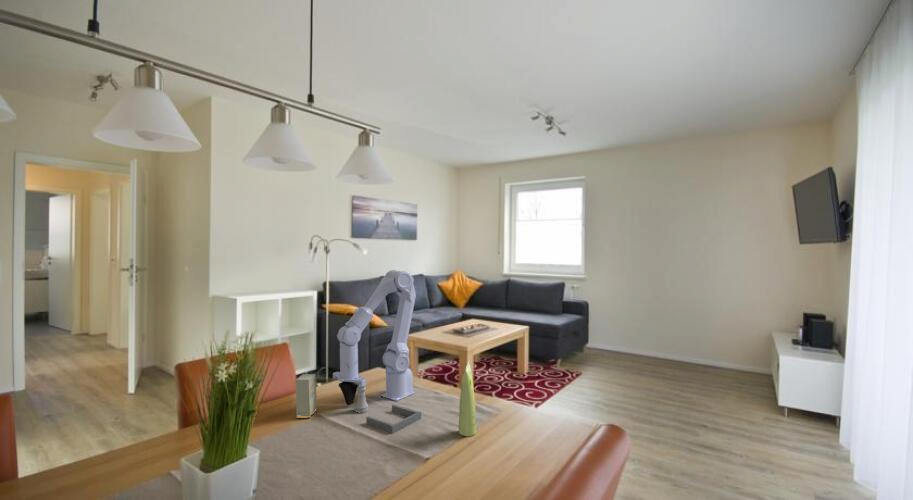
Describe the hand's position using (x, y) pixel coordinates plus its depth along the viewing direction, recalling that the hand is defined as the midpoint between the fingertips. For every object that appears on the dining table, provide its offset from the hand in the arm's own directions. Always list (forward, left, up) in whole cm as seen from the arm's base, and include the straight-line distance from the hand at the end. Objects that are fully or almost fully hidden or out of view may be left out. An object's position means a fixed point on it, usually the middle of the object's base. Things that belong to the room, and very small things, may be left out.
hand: (349, 403), depth 139 cm
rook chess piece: (0, +6, -1) cm, 6 cm away
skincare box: (+12, -6, -1) cm, 14 cm away
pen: (0, +20, -1) cm, 20 cm away
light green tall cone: (-6, +43, -1) cm, 43 cm away
